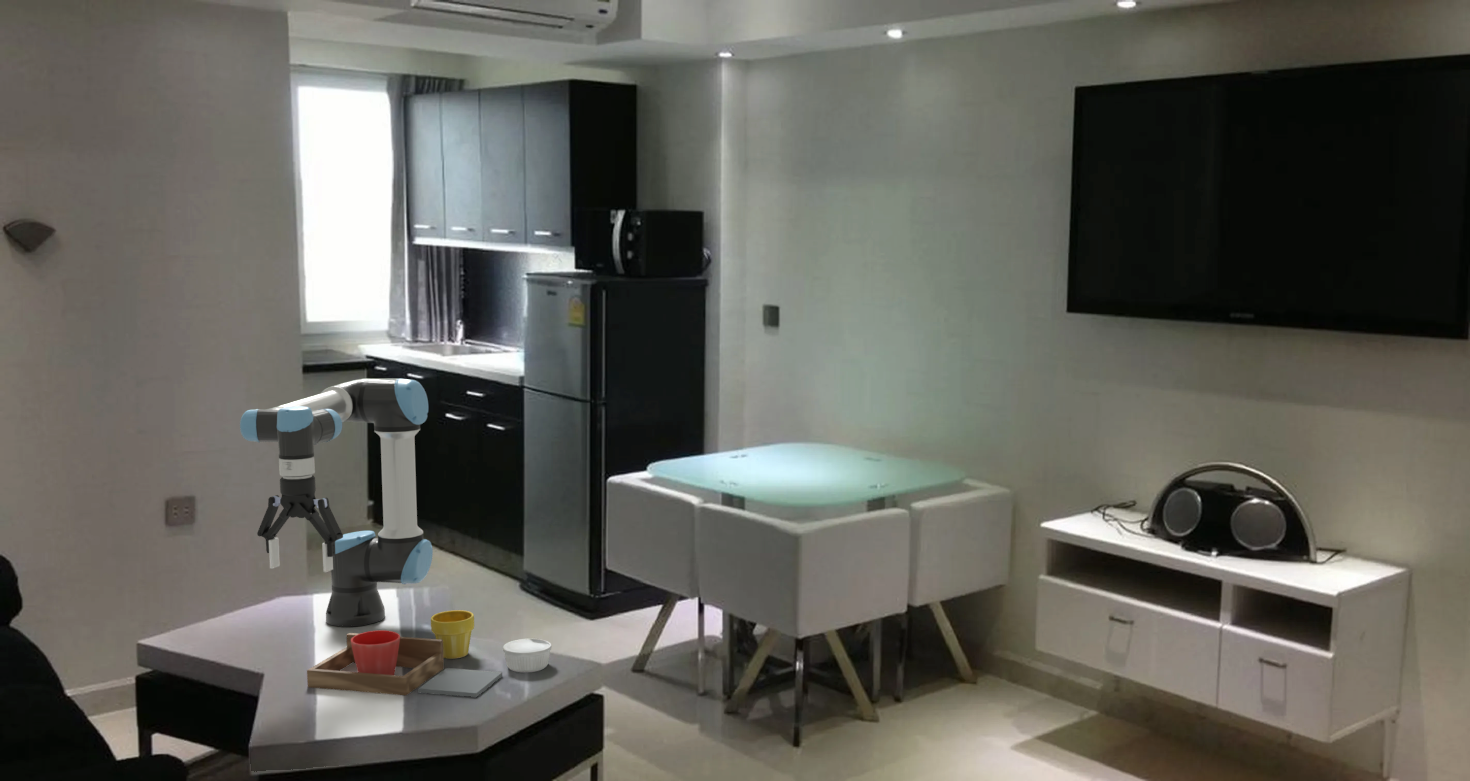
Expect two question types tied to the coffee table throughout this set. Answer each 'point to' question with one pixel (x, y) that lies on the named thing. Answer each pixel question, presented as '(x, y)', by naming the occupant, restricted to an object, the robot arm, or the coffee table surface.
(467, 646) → the plant pot
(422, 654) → the frame
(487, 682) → the rubber mat
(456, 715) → the coffee table surface
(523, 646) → the ramekin
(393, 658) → the flower pot
